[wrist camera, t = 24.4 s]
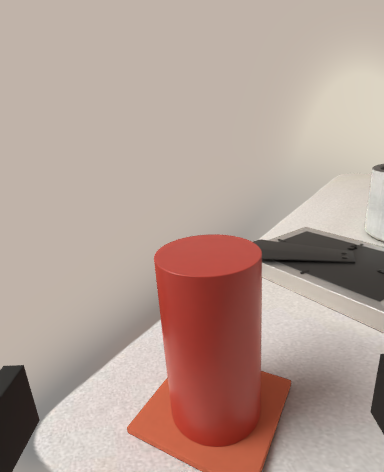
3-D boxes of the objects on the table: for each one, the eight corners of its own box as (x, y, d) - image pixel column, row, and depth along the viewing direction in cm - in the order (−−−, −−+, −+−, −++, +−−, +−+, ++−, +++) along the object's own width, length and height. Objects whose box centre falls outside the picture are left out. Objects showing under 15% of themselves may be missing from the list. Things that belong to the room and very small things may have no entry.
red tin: (245, 463, 19) (242, 285, 15) (154, 426, 22) (132, 266, 18) (270, 386, 24) (273, 239, 20) (194, 364, 27) (184, 230, 23)
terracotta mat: (252, 498, 18) (252, 492, 18) (127, 432, 22) (126, 427, 22) (290, 385, 25) (291, 380, 25) (191, 352, 29) (190, 348, 29)
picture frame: (235, 265, 46) (385, 334, 30) (235, 247, 45) (390, 307, 29) (304, 238, 55) (452, 281, 38) (305, 222, 54) (457, 259, 37)
